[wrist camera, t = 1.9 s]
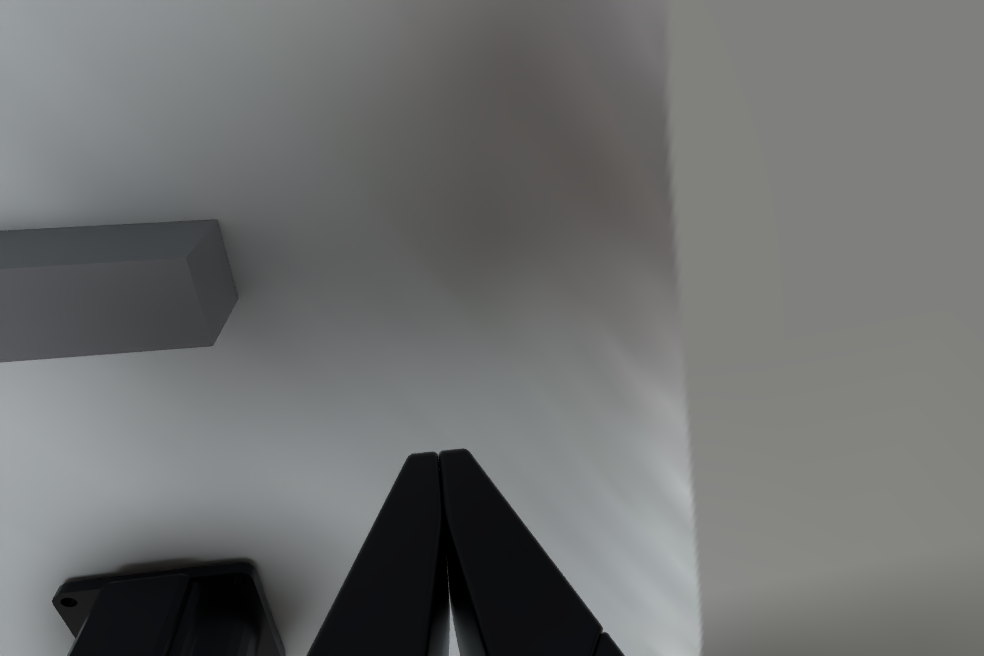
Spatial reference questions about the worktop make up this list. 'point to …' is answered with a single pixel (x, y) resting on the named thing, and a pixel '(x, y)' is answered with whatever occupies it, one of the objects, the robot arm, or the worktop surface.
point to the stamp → (112, 289)
